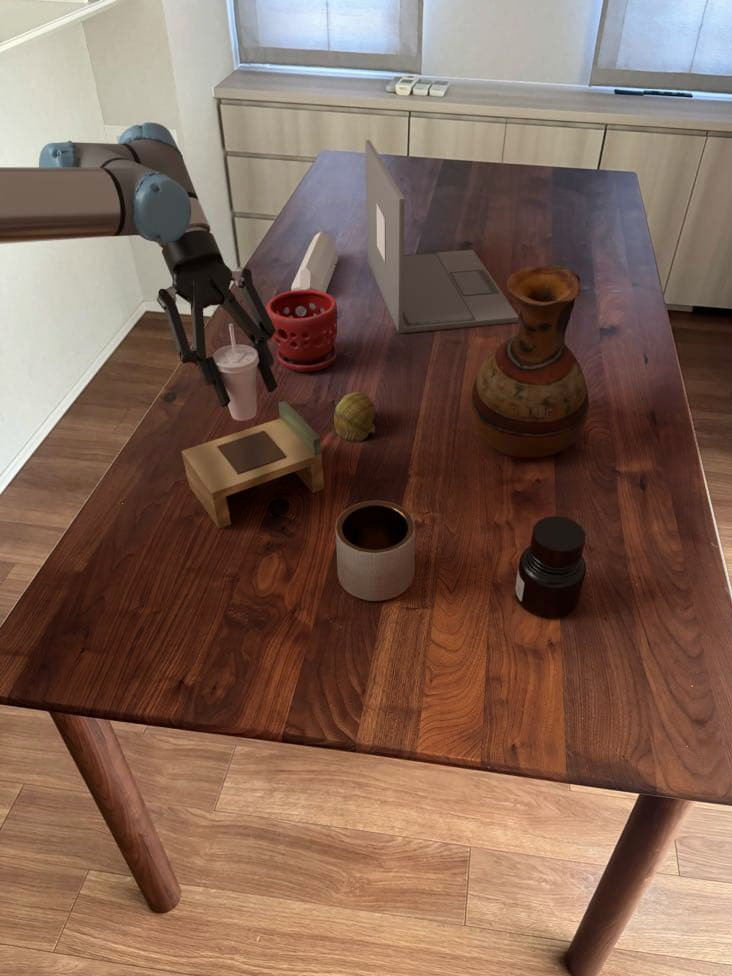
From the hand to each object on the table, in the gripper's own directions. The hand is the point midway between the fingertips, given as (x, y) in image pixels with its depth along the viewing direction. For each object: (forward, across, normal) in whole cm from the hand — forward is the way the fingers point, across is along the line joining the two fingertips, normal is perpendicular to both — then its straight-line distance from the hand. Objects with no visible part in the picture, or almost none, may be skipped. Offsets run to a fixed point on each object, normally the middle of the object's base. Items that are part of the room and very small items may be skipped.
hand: (249, 396), depth 111 cm
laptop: (-19, -64, -46) cm, 81 cm away
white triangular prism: (-33, -44, -60) cm, 81 cm away
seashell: (+7, -22, -21) cm, 31 cm away
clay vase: (+19, -46, -9) cm, 51 cm away
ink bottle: (+41, -24, +14) cm, 50 cm away
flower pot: (-11, -25, -39) cm, 47 cm away
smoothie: (+1, 0, -6) cm, 6 cm away
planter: (+30, -6, +3) cm, 31 cm away
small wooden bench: (+11, 0, -16) cm, 20 cm away
